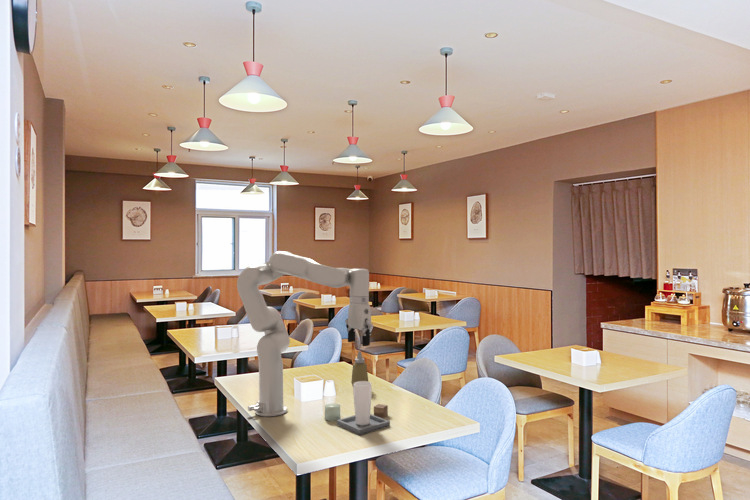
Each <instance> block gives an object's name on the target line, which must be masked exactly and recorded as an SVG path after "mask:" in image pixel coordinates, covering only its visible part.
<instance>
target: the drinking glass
mask: <svg viewBox="0 0 750 500" xmlns="http://www.w3.org/2000/svg"><path fill="white" fill-rule="evenodd" d="M352 388H353V389H352V390H353V391H352V392H353V394H352V395H353V402H354V403H353V404H354V406H353V407H354V415H355V418H356V424H357V425H360V426H365V425H368V424H369V423H370V414H371V408H372V407H371V406H372V382H370V381H368V382H367V381H358V382H355V383H354V385H353V386H352Z"/></svg>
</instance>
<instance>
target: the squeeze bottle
mask: <svg viewBox="0 0 750 500" xmlns="http://www.w3.org/2000/svg"><path fill="white" fill-rule="evenodd" d="M365 362H366V361H365V358H364V357H363V354H362V351H361V350H358V352H357V356H356V358H354V363H353V364H352V369H351V370H352V372H351V381H350V383H351V385H352V387H353V385H354V383H355V382H358V381H367V382H369V376H368V375H369V374H368V364H367V363H365Z"/></svg>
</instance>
